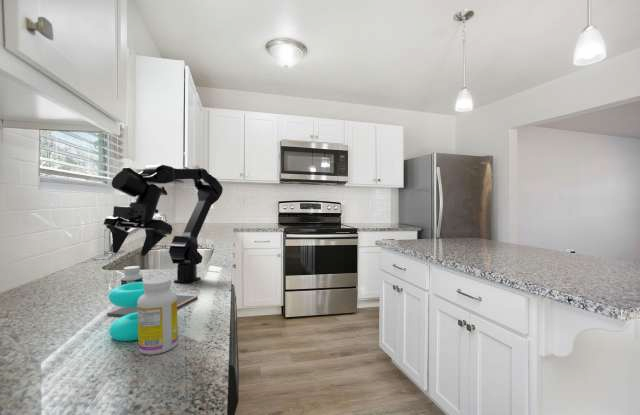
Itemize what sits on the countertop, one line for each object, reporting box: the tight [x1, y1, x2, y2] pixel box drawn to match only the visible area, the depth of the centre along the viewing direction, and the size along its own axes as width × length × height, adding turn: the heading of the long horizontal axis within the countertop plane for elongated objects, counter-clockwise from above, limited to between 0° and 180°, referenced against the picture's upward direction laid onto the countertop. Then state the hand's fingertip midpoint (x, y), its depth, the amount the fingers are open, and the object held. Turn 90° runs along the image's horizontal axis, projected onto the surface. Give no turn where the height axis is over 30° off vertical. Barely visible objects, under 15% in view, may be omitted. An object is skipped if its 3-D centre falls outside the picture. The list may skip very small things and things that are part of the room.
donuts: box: [108, 280, 145, 342], centre depth 65 cm, size 10×10×10 cm
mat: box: [106, 294, 199, 318], centre depth 81 cm, size 16×14×1 cm
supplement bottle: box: [137, 277, 179, 356], centre depth 58 cm, size 7×7×13 cm
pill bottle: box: [120, 265, 143, 286], centre depth 88 cm, size 5×5×9 cm
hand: (128, 254), depth 86 cm, fingers open, 9 cm apart
